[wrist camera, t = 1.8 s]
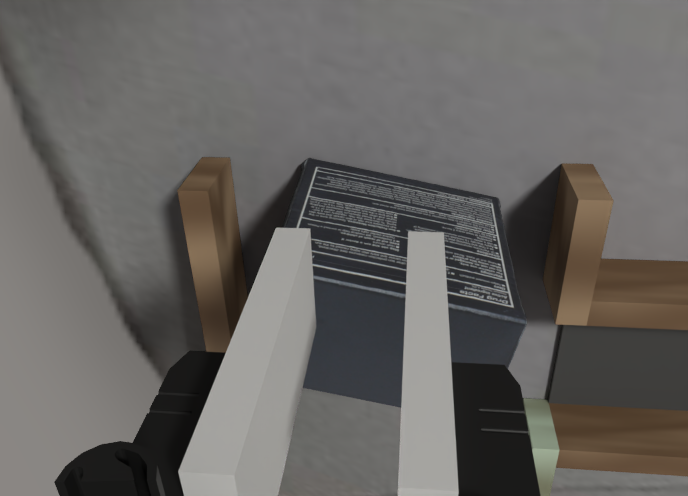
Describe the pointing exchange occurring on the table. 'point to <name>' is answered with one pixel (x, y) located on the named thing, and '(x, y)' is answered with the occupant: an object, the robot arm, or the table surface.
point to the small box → (398, 275)
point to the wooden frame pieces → (563, 294)
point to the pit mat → (621, 367)
